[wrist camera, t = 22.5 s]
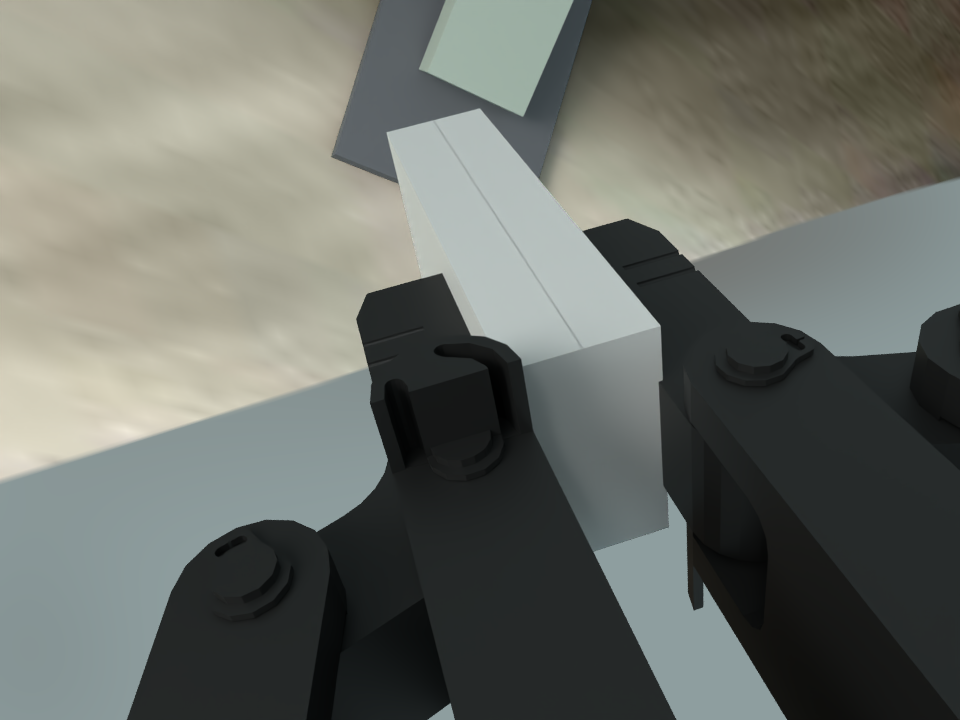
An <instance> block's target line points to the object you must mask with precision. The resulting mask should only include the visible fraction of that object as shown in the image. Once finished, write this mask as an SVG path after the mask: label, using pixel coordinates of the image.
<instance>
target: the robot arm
mask: <svg viewBox="0 0 960 720" xmlns="http://www.w3.org/2000/svg"><path fill="white" fill-rule="evenodd" d="M386 133H387V137H388V141H389V145H390V149H391V153H392V157H393V162H394V166H395V170H396V174H397V178H398V182H399V186H400V190H401V195H402V199H403V203H404V207H405V211H406V215H407V219H408V224H409V228H410V232H411V236H412V240H413V244H414V248H415V252H416V257H417V261H418V265H419V269H420V273H421V277H422V279H418V280H415V281H411V282H408V283H404V284H400V285H397V286H393V287H390V288H386V289H382V290H379V291H375V292H372V293H368V294H367V295H366V297H365V300H364V302H363V304H362V307H361V309H360V311H359V314H358V316H357V318H356V320H357V324H358V328H359V332H360V336H361V340H362V344H363V347H364V352H365V355H366V359H367V363H368V367H369V371H370V375H371V379H372V385H371V398H370V405H371V408H372V411H373V414H374V417H375V420H376V424H377V427H378V430H379V433H380V436H381V439H382V442H383V445H384V449H385V452H386V455H387V458H388V462H387V466H386V470H385V473H384V475H383V477H382V478H381V480H380V482H379V483H378V485H377V486H376V488H375V489H374V490H373V491H372V492H371V494H370V495H369V496H368V497H367V498H366V499H365V500H364V501H363V502H362V503H361V504H360V505H358V506H357V507H356V508H354V509H353V510H351V511H350V512H349V513H347V514H346V515H345V516H343V517H341V518H340V519H338V520H336V521H334V522H333V523H331V524H330V525H328V526H326V527H325V528H323V529H321V530H319V531H318V532H316V531H315V530H313V529H311V528H309V527H306V526H304V525H302V524H299V523H297V522H295V521H289V520H263V521H260V522H257V523H253V524H249V525H246V526H242V527H238V528H236V529H234V530H232V531H230V532H228V533H227V534H225V535H223V536H221V537H220V538H218V539H216V540H214V541H213V542H211V543H210V544H208V545H207V546H206V547H205V548H204V549H203V550H202V551H201V552H200V553H199V554H198V555H197V556H196V557H195V558H193V560H191V561H190V562H189V563H188V564H187V565H186V566H185V568H184V570H183V572H182V573H181V575H180V577H179V579H178V581H177V583H176V585H175V586H174V588H173V590H172V591H171V594H170V597H169V600H168V603H167V606H166V609H165V611H164V614H163V617H162V620H161V623H160V626H159V629H158V632H157V635H156V638H155V640H154V643H153V646H152V649H151V652H150V655H149V658H148V661H147V664H146V666H145V670H144V672H143V675H142V678H141V681H140V684H139V687H138V689H137V692H136V695H135V698H134V702H133V704H132V707H131V710H130V713H129V715H128V719H127V720H428V719H429V718H430V717H432V716H433V715H435V714H436V713H437V712H439V711H440V710H441V709H443V708H444V707H445V706H447V705H448V704H450V703H451V706H452V710H453V714H454V718H455V720H676V718H675V716H674V715H673V712H672V710H671V708H670V706H669V704H668V702H667V700H666V698H665V696H664V694H663V692H662V690H661V688H660V686H659V684H658V682H657V680H656V678H655V676H654V674H653V672H652V670H651V668H650V666H649V664H648V662H647V660H646V658H645V656H644V654H643V652H642V650H641V647H640V645H639V644H638V641H637V639H636V637H635V635H634V634H633V631H632V629H631V627H630V625H629V623H628V621H627V619H626V617H625V615H624V613H623V611H622V609H621V607H620V605H619V603H618V601H617V599H616V597H615V595H614V593H613V591H612V589H611V587H610V585H609V583H608V581H607V579H606V577H605V575H604V573H603V571H602V569H601V567H600V565H599V563H598V561H597V559H596V557H595V554H594V553H593V552H594V551H596V550H600V549H603V548H606V547H609V546H612V545H615V544H618V543H621V542H624V541H627V540H631V539H634V538H637V537H640V536H643V535H646V534H649V533H652V532H656V531H659V530H662V529H665V528H668V527H669V523H668V497H667V492H668V494H669V495H670V497H671V498H672V500H673V501H674V503H675V505H676V506H677V508H678V509H679V511H680V513H681V514H682V516H683V517H684V519H685V520H686V522H687V561H688V562H687V564H688V594H689V597H690V600H691V603H692V606H693V609H694V610H696V609H699V608H702V607H703V582H704V584H705V586H706V587H707V589H708V591H709V592H710V594H711V596H712V597H713V599H714V600H715V602H716V604H717V605H718V607H719V609H720V610H721V612H722V613H723V615H724V616H725V619H726V620H727V622H728V623H729V625H730V627H731V628H732V630H733V632H734V633H735V635H736V637H737V638H738V640H739V642H740V643H741V645H742V646H743V648H744V649H745V651H746V653H747V655H748V656H749V658H750V660H751V661H752V663H753V665H754V666H755V668H756V669H757V671H758V673H759V674H760V676H761V678H762V679H763V681H764V683H765V684H766V686H767V687H768V689H769V691H770V692H771V694H772V696H773V697H774V699H775V701H776V702H777V704H778V706H779V707H780V709H781V711H782V712H783V714H784V715H785V717H786V719H787V720H960V304H959V305H956V306H953V307H951V308H947V309H944V310H942V311H939V312H936V313H935V314H933V315H932V316H931V317H930V318H929V319H928V320H927V321H925V322H924V323H923V324H922V325H921V330H920V336H919V341H918V346H917V351H916V352H910V353H895V354H881V355H868V356H853V357H852V356H849V357H848V356H847V357H846V356H841V357H840V356H839V357H837V356H834V355H833V354H832V353H831V352H830V351H828V350H827V349H826V348H825V347H824V346H823V345H822V344H821V343H819V342H818V341H816V340H815V339H813V338H811V337H810V336H808V335H807V334H805V333H803V332H802V331H800V330H796V329H793V328H789V327H785V326H782V325H779V324H775V323H758V322H750V321H749V320H748V319H747V318H746V317H745V316H744V315H743V314H742V313H741V312H740V311H739V310H738V309H737V308H736V307H735V306H734V305H733V304H732V303H731V302H730V301H729V300H728V299H727V298H726V297H725V296H724V295H723V294H722V293H721V292H720V291H719V290H718V289H717V288H716V287H715V286H714V285H713V284H712V283H711V282H710V281H708V279H707V278H705V277H704V275H702V273H701V272H700V271H695V268H694V266H693V265H692V264H691V263H690V262H689V261H688V260H687V259H686V258H685V257H684V256H683V255H682V254H681V255H679V252H678V250H677V249H676V248H675V247H674V246H673V245H672V244H671V243H670V242H669V241H668V240H667V239H666V238H665V237H664V236H663V235H662V234H661V233H660V232H659V231H657V230H655V229H652V228H650V227H647V226H645V225H642V224H639V223H637V222H634V221H632V220H629V219H624V220H621V221H617V222H613V223H610V224H606V225H603V226H599V227H595V228H592V229H588V230H584V231H581V229H580V228H579V227H578V226H577V225H576V223H575V222H574V221H573V220H572V219H571V217H570V216H569V215H568V214H567V213H566V211H565V210H564V209H563V208H562V207H561V205H560V204H559V203H558V202H557V201H556V199H555V198H554V197H553V196H552V195H551V193H550V192H549V191H548V190H547V188H546V187H545V186H544V185H543V184H542V182H541V181H540V180H539V179H538V178H537V176H536V175H535V174H534V173H533V172H532V170H531V169H530V168H529V167H528V166H527V164H526V163H525V162H524V161H523V160H522V158H521V157H520V156H519V155H518V154H517V152H516V151H515V150H514V149H513V148H512V146H511V145H510V144H509V143H508V142H507V140H506V139H505V138H504V137H503V136H502V134H501V133H500V132H499V131H498V130H497V128H496V127H495V126H494V125H493V124H492V122H491V121H490V120H489V119H488V117H487V116H486V115H485V114H484V113H483V111H482V110H481V109H480V108H479V109H476V110H472V111H468V112H464V113H460V114H456V115H452V116H448V117H444V118H440V119H437V120H433V121H429V122H425V123H421V124H417V125H413V126H409V127H405V128H401V129H398V130H394V131H390V132H386Z"/></svg>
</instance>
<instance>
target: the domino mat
mask: <svg viewBox="0 0 960 720" xmlns="http://www.w3.org/2000/svg"><path fill="white" fill-rule="evenodd" d="M445 1H446V0H380V2H379V6H378V9H377V12H376V15H375V18H374V22H373V25H372V28H371V31H370V35H369V38H368V41H367V44H366V47H365V51H364V54H363V57H362V60H361V63H360V67H359V70H358V73H357V76H356V79H355V83H354V86H353V89H352V92H351V95H350V99H349V102H348V105H347V108H346V111H345V115H344V118H343V121H342V124H341V128H340V131H339V134H338V137H337V140H336V144H335V147H334V150H333V153H332V156H331V157H333V158H335V159H338V160H340V161H343V162H345V163H348V164H350V165H353V166H355V167H358V168H360V169H363V170H365V171H368V172H370V173H373V174H375V175H378V176H380V177H383V178H386V179H388V180H391V181H393V182H396V183H398V184H399V182H398V178H397V174H396V170H395V166H394V162H393V157H392V153H391V149H390V145H389V141H388V137H387V133H386V132H390V131H394V130H398V129H401V128H405V127H409V126H413V125H417V124H421V123H425V122H429V121H433V120H437V119H440V118H444V117H448V116H452V115H456V114H460V113H464V112H468V111H472V110H476V109H479V108H480V109H481V110H482V111H483V113H484V114H485V115H486V116H487V117H488V119H489V120H490V121H491V122H492V124H493V125H494V126H495V127H496V128H497V130H498V131H499V132H500V133H501V134H502V136H503V137H504V138H505V139H506V140H507V142H508V143H509V144H510V145H511V146H512V148H513V149H514V150H515V151H516V152H517V154H518V155H519V156H520V157H521V158H522V160H523V161H524V162H525V163H526V164H527V166H528V167H529V168H530V169H531V170H532V172H533V173H534V174H535V175H536V176H537V178H538V179H539V177H540V173H541V170H542V167H543V163H544V160H545V156H546V153H547V150H548V146H549V143H550V140H551V136H552V133H553V130H554V126H555V123H556V120H557V116H558V113H559V110H560V106H561V103H562V100H563V96H564V93H565V90H566V86H567V83H568V80H569V76H570V73H571V70H572V66H573V63H574V59H575V56H576V53H577V49H578V46H579V43H580V39H581V36H582V33H583V29H584V26H585V23H586V19H587V16H588V13H589V9H590V6H591V3H592V0H573V3H572V5H571V7H570V10H569V12H568V14H567V17H566V19H565V21H564V24H563V26H562V28H561V31H560V33H559V35H558V37H557V40H556V42H555V44H554V47H553V49H552V51H551V54H550V56H549V58H548V61H547V63H546V65H545V68H544V70H543V72H542V74H541V77H540V79H539V81H538V84H537V86H536V88H535V91H534V93H533V95H532V98H531V100H530V102H529V105H528V107H527V109H526V112H525V114H524V116H523V117H522V116H520V115H517V114H514V113H512V112H509V111H507V110H505V109H503V108H501V107H499V106H497V105H494V104H492V103H490V102H488V101H486V100H484V99H482V98H479V97H477V96H475V95H473V94H471V93H469V92H466V91H464V90H462V89H460V88H458V87H456V86H454V85H451V84H449V83H447V82H445V81H443V80H441V79H439V78H436V77H434V76H432V75H430V74H428V73H426V72H423V71H421V70H419V67H420V65H421V62H422V60H423V57H424V54H425V52H426V49H427V47H428V44H429V42H430V39H431V37H432V34H433V31H434V29H435V26H436V24H437V21H438V19H439V16H440V13H441V11H442V8H443V6H444V3H445Z"/></svg>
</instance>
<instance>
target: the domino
mask: <svg viewBox="0 0 960 720" xmlns="http://www.w3.org/2000/svg"><path fill="white" fill-rule="evenodd" d="M572 3H573V0H446V1H445V3H444V6H443V8H442V11H441V13H440V16H439V19H438V21H437V24H436V26H435V29H434V31H433V34H432V37H431V39H430V42H429V44H428V47H427V49H426V52H425V54H424V57H423V60H422V62H421V65H420V67H419V70H421V71H423V72H426V73H428V74H430V75H432V76H434V77H436V78H439V79H441V80H443V81H445V82H447V83H449V84H451V85H454V86H456V87H458V88H460V89H462V90H464V91H466V92H469V93H471V94H473V95H475V96H477V97H479V98H482V99H484V100H486V101H488V102H490V103H492V104H494V105H497V106H499V107H501V108H503V109H505V110H507V111H509V112H512V113H514V114H517V115H520V116H522V117H523V116H524V114H525V112H526V109H527V107H528V105H529V102H530V100H531V98H532V95H533V93H534V91H535V88H536V86H537V84H538V81H539V79H540V77H541V74H542V72H543V70H544V68H545V65H546V63H547V61H548V58H549V56H550V54H551V51H552V49H553V47H554V44H555V42H556V40H557V37H558V35H559V33H560V31H561V28H562V26H563V24H564V21H565V19H566V17H567V14H568V12H569V10H570V7H571V5H572Z"/></svg>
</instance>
